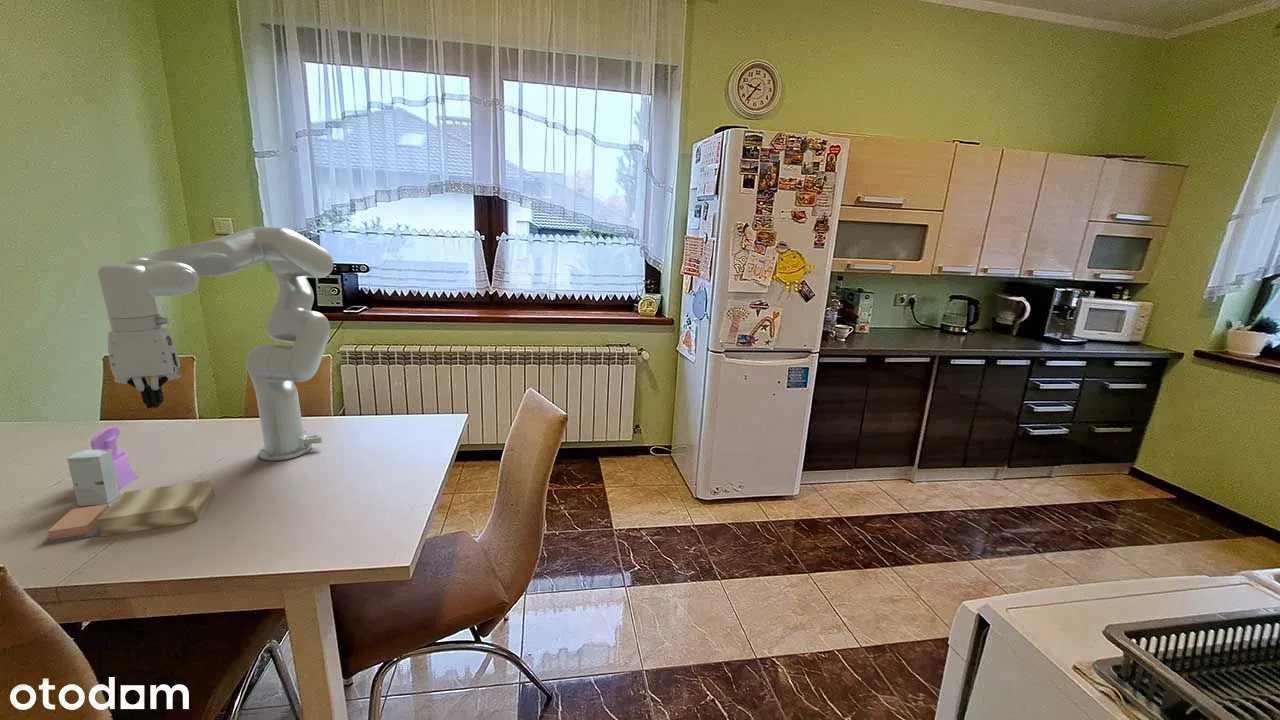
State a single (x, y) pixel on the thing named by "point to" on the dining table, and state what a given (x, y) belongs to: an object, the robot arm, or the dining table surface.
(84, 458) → the skincare box
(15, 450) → the dining table surface
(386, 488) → the dining table surface
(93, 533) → the mat
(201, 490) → the board
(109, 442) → the purple flanged fixture
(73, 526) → the tile
